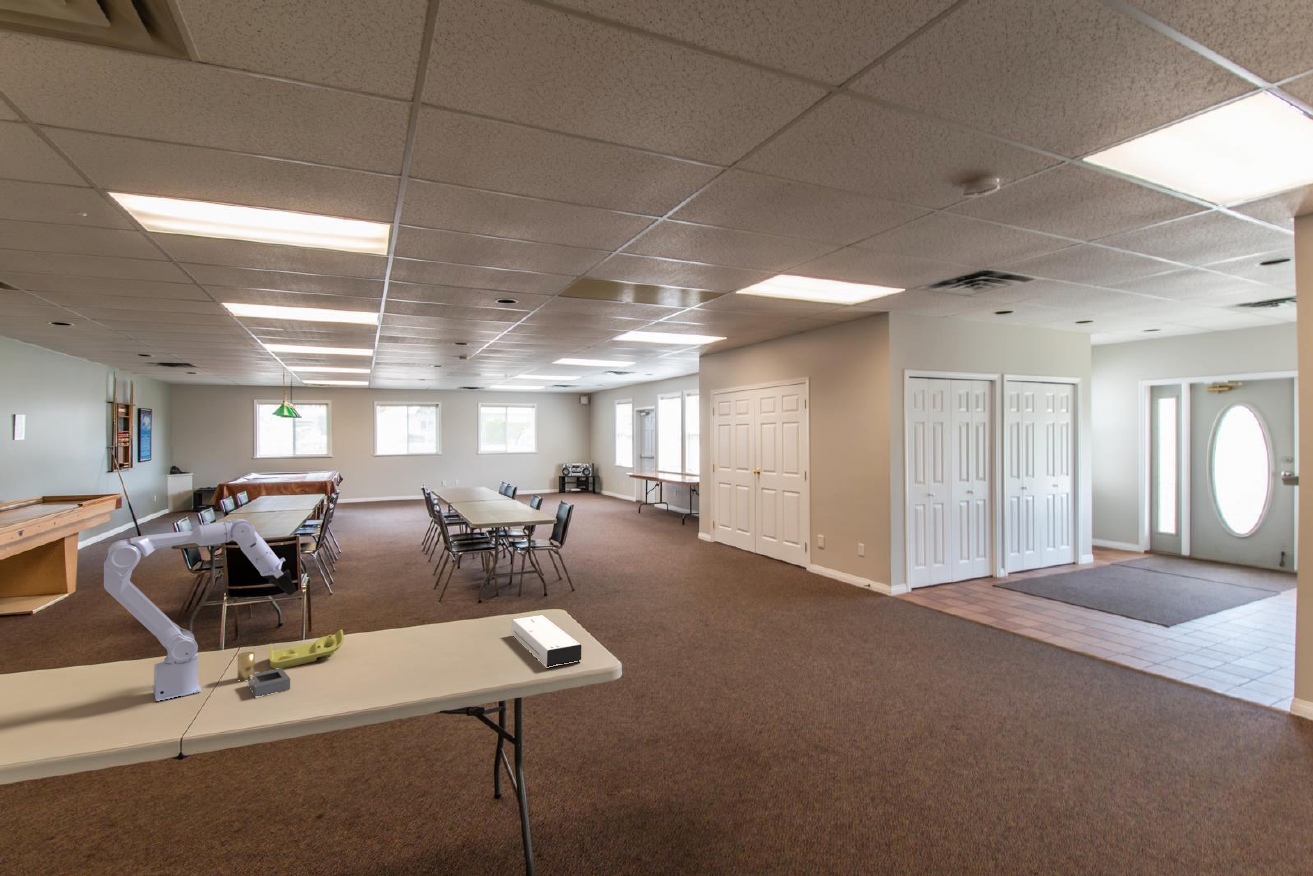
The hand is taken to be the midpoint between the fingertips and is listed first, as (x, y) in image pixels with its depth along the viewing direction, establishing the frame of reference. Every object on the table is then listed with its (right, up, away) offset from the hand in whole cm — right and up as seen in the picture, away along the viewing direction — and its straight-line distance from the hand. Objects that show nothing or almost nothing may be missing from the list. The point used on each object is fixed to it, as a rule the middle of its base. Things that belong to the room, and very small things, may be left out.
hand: (289, 590), depth 182 cm
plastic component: (+1, -23, +8) cm, 25 cm away
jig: (+2, -23, -13) cm, 27 cm away
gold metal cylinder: (-8, -23, -7) cm, 26 cm away
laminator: (+72, -25, +21) cm, 79 cm away
